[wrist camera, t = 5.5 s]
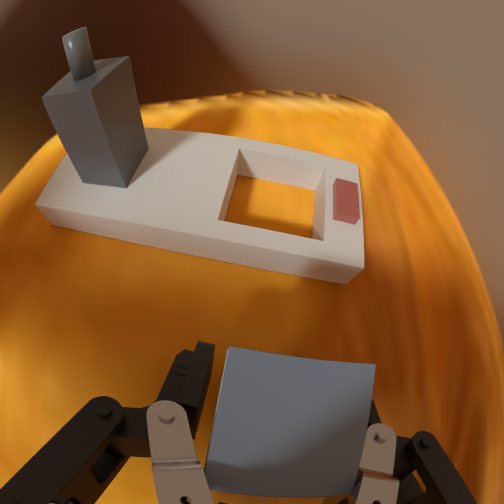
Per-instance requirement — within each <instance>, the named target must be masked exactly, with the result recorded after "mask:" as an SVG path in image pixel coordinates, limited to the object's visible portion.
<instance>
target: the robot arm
mask: <svg viewBox="0 0 504 504" xmlns="http://www.w3.org/2000/svg"><path fill="white" fill-rule="evenodd" d="M214 351H215V344H210V343H206V342H202V341H198V343H197V346H196V349H195V351H194V352H193V351H189V350H185V349H184V350H183V351H182V352H180V353H179V354H178V355H176V357H175V360H174V362H173V364H172V366H171V368H170V371H169V373H168V375H167V377H166V380H165V382H164V384H163V387H162V389H161V391H160V393H159V396H158V398H157V400H156V401H155V402H154V403H153V404H151V405H149V406H147V407H143V408H128V407H122V406H121V405H120V403H119V402H118V401H116V400H115V399H113V398H110V397H106V396H99V397H95V398H93V399H91V400H90V401H89V402H88V403H87V404H86V405H85V406H84V407H83V408H82V409H81V410H80V411H79V412H78V413H77V414H76V415H75V416H74V417H73V418H72V419H71V420H70V421H69V422H68V423H67V424H65V425H64V426H63V427H62V428H61V429H60V430H59V431H58V432H57V433H56V434H55V435H54V436H53V437H52V438H51V439H50V440H49V441H48V442H47V443H46V444H45V445H44V446H43V447H42V448H41V449H40V450H39V451H38V452H37V453H36V454H35V455H34V456H33V457H32V458H31V459H30V460H29V461H28V462H27V463H26V464H25V465H24V466H23V467H22V468H21V469H20V470H19V471H18V472H17V473H16V474H15V475H14V476H13V477H12V478H11V479H10V480H9V481H8V482H7V483H6V484H5V485H4V486H3V487H2V488H1V489H0V504H95V502H96V501H97V500H98V498H99V497H100V496H101V495H102V493H103V492H104V491H105V489H106V488H107V487H108V486H109V484H110V483H111V482H112V480H113V479H114V478H115V476H116V475H117V474H118V472H119V471H120V470H121V468H122V467H123V466H124V464H125V463H126V462H127V460H128V459H129V458H130V456H134V457H151V458H152V469H153V476H154V481H155V487H156V492H157V497H158V502H159V504H214V502H213V499H212V496H211V493H210V490H209V487H208V483H207V480H206V477H205V474H204V470H203V467H202V465H201V463H200V462H199V461H198V459H197V455H196V452H195V448H194V444H193V440H192V439H195V436H196V432H197V428H198V424H199V420H200V416H201V412H202V408H203V405H204V401H205V397H206V393H207V389H208V385H209V382H210V377H211V372H212V365H213V358H214ZM414 470H417V472H418V474H419V476H420V477H421V479H422V481H423V483H424V484H425V486H426V493H424V492H423V491H422V489H421V488H420V486H419V484H418V482H417V480H416V478H415V477H414V475H413V473H412V472H413V471H414ZM218 504H226V503H218ZM321 504H477V503H476V501H475V500H474V498H473V496H472V495H471V493H470V491H469V490H468V488H467V486H466V485H465V483H464V481H463V480H462V478H461V477H460V475H459V473H458V472H457V470H456V469H455V467H454V465H453V464H452V462H451V461H450V459H449V458H448V456H447V455H446V453H445V452H444V450H443V449H442V447H441V445H440V444H439V442H438V441H437V439H436V438H435V437H434V436H433V435H432V434H431V433H429V432H426V431H420V432H417V433H416V434H415V435H414V436H413V437H412V438H406V437H400V436H396V434H395V432H394V430H393V429H392V428H391V427H389V426H387V425H385V424H381V421H380V418H379V415H378V412H377V410H376V407H375V404H374V401H373V400H372V401H371V408H370V414H369V420H368V426H367V431H366V437H365V442H364V446H363V451H362V455H361V460H360V464H359V468H358V472H357V476H356V479H355V483H354V487H353V489H352V491H351V493H350V494H349V495H339V496H327V497H326V498H325V500H324V501H323V502H322V503H321Z"/></svg>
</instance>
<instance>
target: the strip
mask: <svg viewBox="0 0 504 504" xmlns="http://www.w3.org/2000/svg"><path fill="white" fill-rule="evenodd" d="M62 40H63V44H64V48H65V52H66V55H67V59H68V62H69V66H70V69H71V71H70V72H69V73H68V74H67V75H66V76H64V77H63V78H62V79H61V80H60V81H59V82H58V83H57V84H55V85H54V86H53V87H52V88H51V89H50V90H49V91H48V92H47V93H46V94H45V95H44V96H43V97H42V100H43V102H44V104H45V107H46V109H47V112H48V114H49V116H50V119H51V121H52V123H53V125H54V127H55V130H56V132H57V134H58V136H59V138H60V140H61V142H62V144H63V146H64V148H65V150H66V152H67V154H66V155H65V157H64V158H63V160H62V161H61V163H60V164H59V166H58V167H57V169H56V170H55V172H54V173H53V175H52V176H51V178H50V179H49V181H48V183H47V184H46V186H45V188H44V189H43V191H42V193H41V194H40V196H39V198H38V200H37V201H36V203H35V206H36V207H37V208H38V210H39V211H40V212H41V213H42V214H43V216H44V217H45V218H46V219H47V220H48V221H49V223H50V224H51V225H55V226H59V227H64V228H68V229H72V230H77V231H81V232H86V233H90V234H95V235H99V236H104V237H108V238H113V239H118V240H122V241H127V242H131V243H136V244H141V245H145V246H150V247H155V248H160V249H164V250H169V251H174V252H179V253H184V254H189V255H193V256H198V257H203V258H208V259H213V260H218V261H223V262H228V263H233V264H238V265H243V266H249V267H254V268H259V269H264V270H269V271H274V272H280V273H285V274H290V275H295V276H301V277H306V278H312V279H317V280H322V281H328V282H333V283H339V284H344V285H346V284H347V283H348V282H349V281H350V280H352V279H353V278H354V277H355V276H356V275H357V274H358V273H359V272H361V271H362V270H363V269H364V235H363V216H362V202H361V191H360V180H359V171H358V164H355V163H351V162H348V161H344V160H341V159H337V158H333V157H330V156H326V155H322V154H318V153H314V152H310V151H305V150H301V149H297V148H292V147H287V146H283V145H278V144H273V143H268V142H262V141H257V140H251V139H245V138H239V137H232V136H226V135H218V134H211V133H203V132H194V131H184V130H173V129H159V128H144V126H143V122H142V117H141V113H140V108H139V104H138V99H137V94H136V89H135V84H134V79H133V73H132V68H131V62H130V57H129V56H126V57H118V58H109V59H102V60H96V61H93V56H92V52H91V48H90V43H89V38H88V33H87V29H86V27H83V28H79V29H77V30H74V31H72V32H70V33H68V34H66V35H65V36H63V37H62ZM237 175H241V176H246V177H252V178H257V179H262V180H267V181H272V182H277V183H282V184H287V185H292V186H296V187H301V188H305V189H309V190H314V191H315V199H314V218H313V233H312V239H311V238H306V237H301V236H297V235H292V234H287V233H282V232H277V231H272V230H267V229H262V228H257V227H252V226H246V225H241V224H236V223H231V222H225V217H226V213H227V210H228V206H229V202H230V199H231V195H232V192H233V188H234V185H235V181H236V178H237Z"/></svg>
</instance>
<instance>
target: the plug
mask: <svg viewBox="0 0 504 504" xmlns="http://www.w3.org/2000/svg"><path fill="white" fill-rule="evenodd" d="M375 367H376V364H365V363H351V362H339V361H328V360H319V359H310V358H302V357H294V356H287V355H280V354H274V353H267V352H261V351H255V350H250V349H244V348H239V347H233V346H229V349H227V355H226V360H225V365H224V370H223V375H222V380H221V385H220V390H219V395H218V400H217V405H216V411H215V416H214V421H213V426H212V431H211V436H210V442H209V447H208V452H207V457H206V463H205V468H204V474H205V477H206V480H207V483H208V487H209V490H215V491H221V492H227V493H234V494H243V495H252V496H265V497H291V498H301V497H327V496H339V495H349V494H350V493H351V491H352V489H353V487H354V483H355V479H356V476H357V472H358V468H359V464H360V460H361V455H362V451H363V446H364V442H365V437H366V431H367V426H368V420H369V414H370V408H371V401H372V394H373V386H374V377H375Z"/></svg>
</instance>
